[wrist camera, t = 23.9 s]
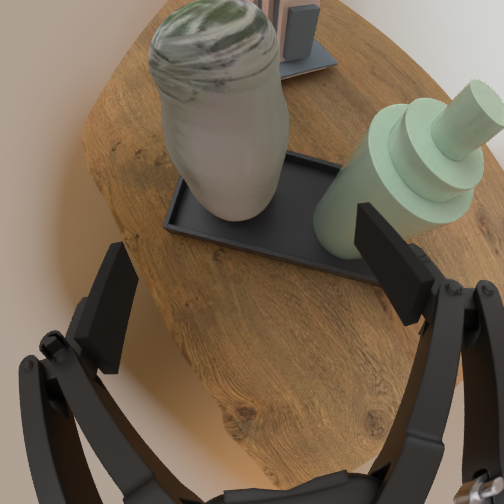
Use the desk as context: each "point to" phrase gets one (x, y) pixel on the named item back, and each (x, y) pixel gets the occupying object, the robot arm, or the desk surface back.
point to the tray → (273, 221)
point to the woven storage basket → (296, 35)
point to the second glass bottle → (412, 167)
